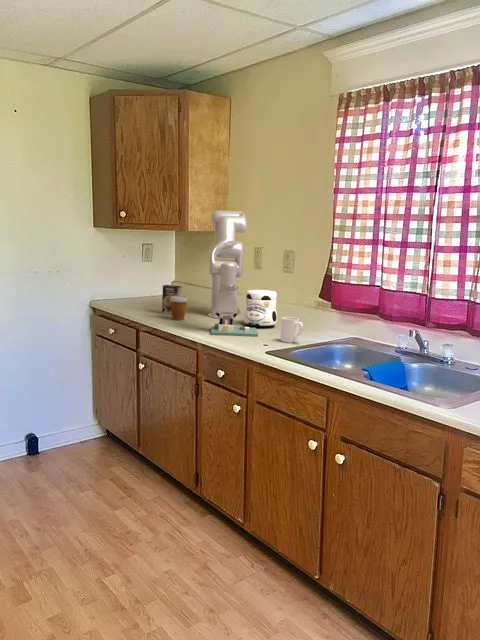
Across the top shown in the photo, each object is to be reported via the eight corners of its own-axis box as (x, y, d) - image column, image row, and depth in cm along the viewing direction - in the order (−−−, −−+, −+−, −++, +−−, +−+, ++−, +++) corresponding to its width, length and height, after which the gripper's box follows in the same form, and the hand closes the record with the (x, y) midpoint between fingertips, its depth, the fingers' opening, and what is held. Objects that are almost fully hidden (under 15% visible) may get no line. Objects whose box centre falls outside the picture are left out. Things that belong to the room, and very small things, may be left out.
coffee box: (161, 314, 313) (162, 285, 310) (165, 312, 319) (166, 284, 316) (176, 315, 311) (177, 286, 308) (180, 314, 317) (181, 285, 314)
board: (211, 328, 278) (211, 320, 278) (255, 330, 279) (256, 321, 279) (210, 334, 263) (211, 326, 262) (257, 336, 263) (258, 327, 263)
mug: (276, 340, 258) (278, 317, 256) (290, 338, 262) (291, 316, 261) (294, 345, 248) (295, 321, 246) (307, 343, 253) (309, 320, 251)
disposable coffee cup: (171, 321, 293) (172, 298, 291) (167, 318, 302) (167, 295, 300) (189, 320, 297) (190, 298, 295) (184, 317, 305) (184, 295, 303)
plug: (222, 327, 273) (222, 312, 272) (229, 327, 273) (230, 312, 272) (222, 329, 267) (222, 314, 266) (229, 329, 268) (230, 314, 266)
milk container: (247, 329, 281) (248, 293, 278) (240, 322, 298) (241, 289, 295) (280, 329, 285) (282, 294, 281) (272, 323, 301) (273, 289, 298)
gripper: (244, 288, 271) (242, 325, 274) (210, 287, 270) (208, 324, 274) (245, 290, 264) (243, 328, 267) (209, 288, 263) (208, 327, 266)
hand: (225, 326), depth 270 cm, fingers open, 3 cm apart
